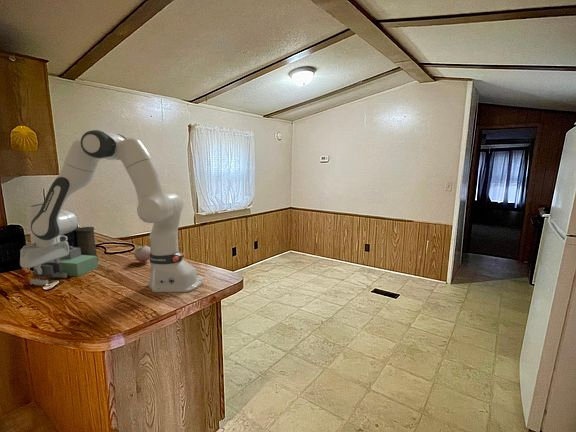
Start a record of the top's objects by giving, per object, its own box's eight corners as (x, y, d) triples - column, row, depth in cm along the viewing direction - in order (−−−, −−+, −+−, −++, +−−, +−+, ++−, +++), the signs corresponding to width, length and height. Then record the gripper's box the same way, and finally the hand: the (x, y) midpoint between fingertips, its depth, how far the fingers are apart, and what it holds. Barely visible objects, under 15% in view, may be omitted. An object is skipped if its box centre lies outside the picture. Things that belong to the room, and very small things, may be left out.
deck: (98, 267, 155) (96, 245, 153) (54, 286, 131) (51, 260, 129) (70, 265, 157) (67, 243, 155) (22, 283, 134) (18, 258, 132)
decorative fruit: (149, 265, 159) (148, 246, 158) (132, 265, 158) (131, 246, 156) (155, 259, 168) (153, 241, 167) (139, 259, 167) (137, 241, 166)
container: (100, 261, 164) (97, 228, 161) (81, 265, 157) (77, 230, 154) (94, 258, 170) (91, 225, 166) (75, 261, 163) (71, 228, 160)
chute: (44, 272, 140) (43, 261, 139) (62, 273, 139) (60, 262, 138) (34, 276, 135) (32, 265, 134) (52, 277, 134) (50, 266, 133)
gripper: (26, 247, 124) (31, 280, 126) (70, 235, 144) (73, 264, 146) (13, 246, 125) (18, 279, 127) (58, 235, 145) (61, 263, 147)
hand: (48, 271), depth 137 cm, fingers closed on chute, 5 cm apart
